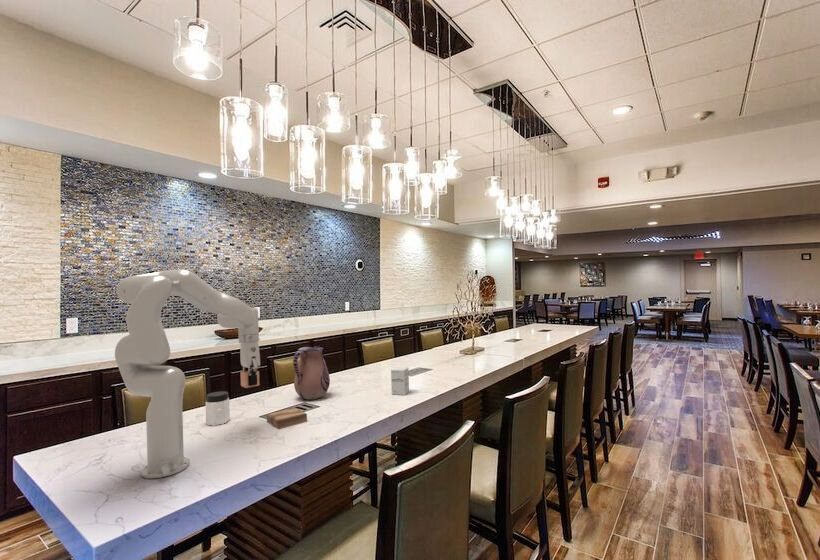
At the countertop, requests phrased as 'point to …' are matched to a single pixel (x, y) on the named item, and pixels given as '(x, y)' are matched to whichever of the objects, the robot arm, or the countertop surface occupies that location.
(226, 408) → the jar
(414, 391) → the countertop surface
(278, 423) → the block
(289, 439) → the countertop surface
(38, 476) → the countertop surface
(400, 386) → the supplement box
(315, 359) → the ceramic pitcher
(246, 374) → the cube
